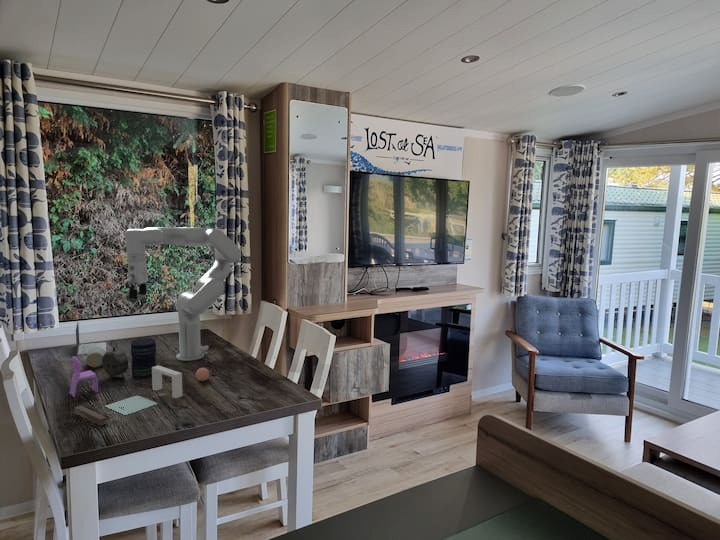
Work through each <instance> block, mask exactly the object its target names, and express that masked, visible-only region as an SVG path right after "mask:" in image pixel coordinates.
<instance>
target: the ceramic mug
mask: <svg viewBox="0 0 720 540" xmlns="http://www.w3.org/2000/svg"><path fill="white" fill-rule="evenodd" d="M106 352H107V350H106V351H105V350H104V349H103V348H101V347H93V348H91V349H90V350H89V351H88V354H86V358H85V359H86V360H85V361H86V364H87V366H89V367H91V368H95V369H96V368H100V367H101V366H103V365H102V358H103V355H104V354H105V353H106Z"/></svg>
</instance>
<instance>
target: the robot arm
mask: <svg viewBox="0 0 720 540" xmlns="http://www.w3.org/2000/svg"><path fill="white" fill-rule="evenodd" d="M161 244H162V245H164V244H165V245H169V244H170V245H174V246H175V245H176V246H180V247H181V246H182V247H183V246H184V247H197V246H198V247H205V246H206V247H213V249H214V263H213V265H212V266H211V267H210V269H208V270H207V272H206V273H204V274H203V275H202V276H201V277H200V278H199V279H198V280H197V281H196V283H195V285H194V286H195V287H194V288H195V291H196V292H194V291H184V292H182V293H180V294H179V295H178V297H177V299H176V309H177V315H178V316H177V317H178V343H179V352H178V353H177V354H176V355H175V358H176V359H177V360H178V361H182V362H190V361H197V360H201V359H203V358H204V357H205V353H204V351H207V350H208V349H209V345H201V318H200V315H202V314H204V313H205V312H206V311H208V310H209V309H210V307H212V305H214V304H215V303H216V301H218V299H220V297H221V296H222V294H223V292H224V290H225V289H224V284H223V282H224V281H225V280H226V278H228V276H229V275H230V271H231V267H232V264H234V263H235V264H236V263H237V262H239V261H240V259H241V257H242V252H241V249H240V247H239V246H238V245H237V244H236V243H235V242H234V241H232V239H231V238H230V237H229V236H227V234H226V233H225V232H223V231H222V230H221V229H218V228H212V227H184V226H183V227H178V226H177V227H159V226H158V227H155V226H154V227H151V226H149V227H148V226H147V227H145V228H143V229H142V228H141V229H140V228H130V229H127V230H126V231H125V245H126V246H125V247H126V261H127V286H128V292H129V293H128V294H129V299H134V300H135V299H138V297H139V296H138V294H139V295H147V294H148V293H147V292H148V290H147V282H148V281H149V280H148V279H149V276H148V274H149V273H148V266H147V262H146V260H147V258H146V257H147V256H146V246H154V247H157V246H160V245H161ZM137 288H138V289H137Z"/></svg>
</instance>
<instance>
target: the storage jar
mask: <svg viewBox="0 0 720 540" xmlns="http://www.w3.org/2000/svg"><path fill="white" fill-rule="evenodd" d="M156 342H157V340H156V339H154V338H138V339H135V340H132V341H131V342H130V356H131V378H132V379H134V380H138V381H139V380H140V381H144V379H145V380H150V379H152V367H155V366H158V364H157V360H156V355H157V345H156V344H157V343H156Z"/></svg>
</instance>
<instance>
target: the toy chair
mask: <svg viewBox="0 0 720 540" xmlns="http://www.w3.org/2000/svg"><path fill="white" fill-rule="evenodd" d="M72 368H73V372H74V373H73V374H72V377H71V380H70V382H71V384H70V389H69V392H68V394H69V393H70V394H71V395H72V396H73V397H75V398H76V389H77V385H78V382H80V381H82V380H86V379H92V385H91V388H92V389H91V388H90V389H91V390H92V391H94V392H95V391H96V392H98V391H99V388H98V387H99V378H98V377H97V374H96V373H95V372H93V371H92V370H90V369H89V370H86V371H83V367H82V363H81V361H80V360H79V359H78V357H76V356H72ZM81 371H82V372H81ZM96 392H95V393H96ZM70 394H69V395H70ZM71 395H70V396H71ZM72 396H71V397H72ZM73 397H72V398H73Z"/></svg>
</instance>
